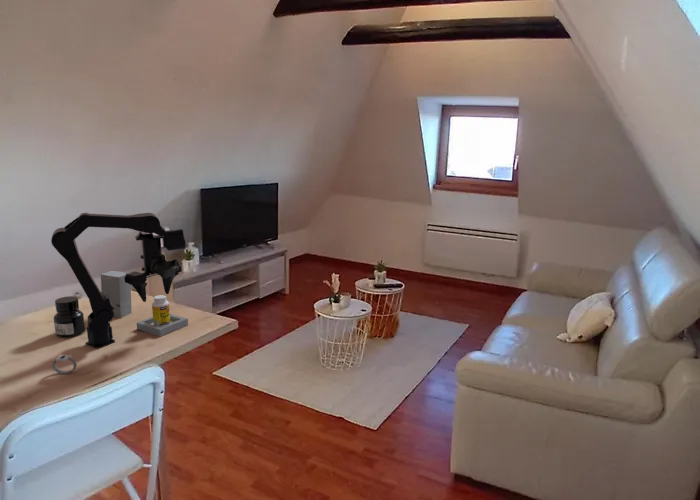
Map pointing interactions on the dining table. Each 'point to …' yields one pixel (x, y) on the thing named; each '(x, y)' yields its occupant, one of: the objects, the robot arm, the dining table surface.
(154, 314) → the supplement bottle
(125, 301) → the skincare box
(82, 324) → the ink bottle
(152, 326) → the tray
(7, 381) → the dining table surface
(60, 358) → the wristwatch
